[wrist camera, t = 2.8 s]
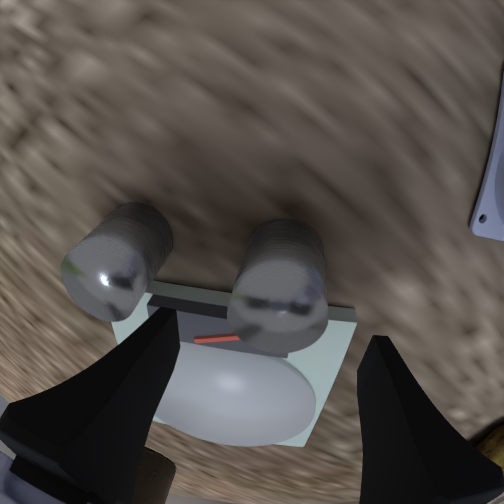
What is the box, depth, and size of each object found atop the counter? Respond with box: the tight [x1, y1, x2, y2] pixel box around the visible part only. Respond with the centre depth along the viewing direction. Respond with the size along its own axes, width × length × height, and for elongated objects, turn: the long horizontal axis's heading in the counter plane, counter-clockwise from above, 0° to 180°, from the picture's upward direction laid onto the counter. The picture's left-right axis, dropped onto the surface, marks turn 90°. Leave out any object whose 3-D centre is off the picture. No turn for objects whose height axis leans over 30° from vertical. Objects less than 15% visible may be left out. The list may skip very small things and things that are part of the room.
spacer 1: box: [61, 202, 173, 322], centre depth 15 cm, size 4×4×5 cm
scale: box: [112, 281, 357, 447], centre depth 22 cm, size 16×15×2 cm
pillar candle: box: [132, 447, 176, 504], centre depth 30 cm, size 10×10×15 cm
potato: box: [475, 424, 504, 471], centre depth 23 cm, size 8×13×8 cm, turn 152°
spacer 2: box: [227, 219, 329, 353], centre depth 15 cm, size 4×4×5 cm
